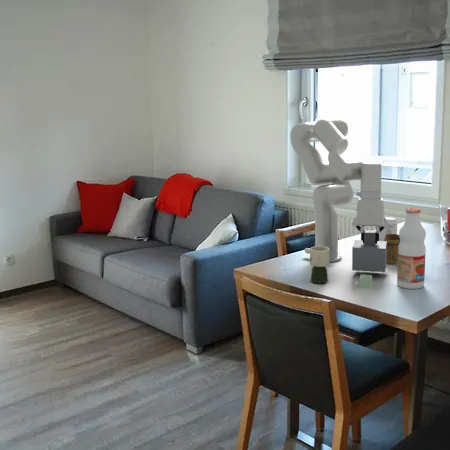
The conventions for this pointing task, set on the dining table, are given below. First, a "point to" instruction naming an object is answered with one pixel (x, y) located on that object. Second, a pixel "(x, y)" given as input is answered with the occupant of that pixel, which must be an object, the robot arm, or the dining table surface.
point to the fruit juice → (411, 252)
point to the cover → (369, 254)
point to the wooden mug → (392, 248)
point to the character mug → (319, 263)
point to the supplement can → (389, 228)
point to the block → (366, 281)
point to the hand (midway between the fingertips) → (370, 242)
